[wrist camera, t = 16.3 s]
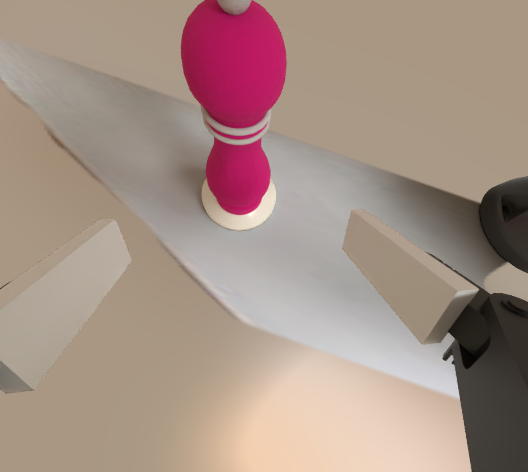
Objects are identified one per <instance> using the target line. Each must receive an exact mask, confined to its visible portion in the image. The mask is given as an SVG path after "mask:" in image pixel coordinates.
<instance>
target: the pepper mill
mask: <svg viewBox="0 0 528 472" xmlns="http://www.w3.org/2000/svg"><path fill="white" fill-rule="evenodd" d="M181 58H182V65H183V71H184V75H185V78H186V81H187V83H188V86H189V89H190V91H191V92H192V94H193V95H194V97H195V98H196V100H198V102H199V103H200V104H201V111H202V114H203V120H204V124H205V126H206V128H207V129H208V131H209V132H210V133H211V134H212V135H213V136H214V145H213V148H212V150H211V152H210V155H209V157H208V160H207V165H206V178H207V184H208V186H209V189H210V190H211V192H212V193H213V195H214V196H215V197H216V199H217V202H218V204H219V205H220V206H221V207H222V209H224V210H225V211H226V212H228V213H231V214H234V215H245V214H249V213H251V212H253V211H254V210H255V209H257V208H258V206H259V205H260V203H261V201H262V197H263V196H264V195H265V193H266V192H267V190H268V187H269V184H270V173H271V171H270V167H269V163H268V160H267V157H266V155H265V153H264V151H263V150H262V148H261V137H262V136H263V135H264V134H265V133H266V131H267V130H268V127H269V124H270V116H271V110H272V106H273V105H274V104H275V103H276V101H277V100H278V98H279V96H280V94H281V91H282V89H283V85H284V82H285V75H286V50H285V46H284V41H283V38H282V35H281V32H280V30H279V28H278V26H277V24H276V22H275V21H274V19H273V18H272V16H271V15H270V14H269V13H268V12H267V11H266V10H265V8H263V7H262V6H261V5H259V4H258V3H256V2H254V1H253V0H205V1H203V2H202V3H200V4H199V5H198V6H197V7H196V8H195V10H194V11H193V12H192V14H191V15H190V16H189V17H188V19H187V22H186V24H185V27H184V29H183V34H182V41H181Z"/></svg>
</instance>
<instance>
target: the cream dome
mask: <svg viewBox="0 0 528 472" xmlns="http://www.w3.org/2000/svg"><path fill="white" fill-rule="evenodd" d="M201 197H202V202H203V206H204V208H205V210H206V212H207V214H208V215H209V217H210V218H211V219H212V220H213V221H214V222H215V223H216V224H218V225H219V226H221V227H223V228H226V229H229V230H233V231H246V230H250V229H253V228H256V227H258V226H259V225H261V224H262V223H264V222H265V221H266V220H267V219H268V218H269V216H270V215H271V213H272V211H273V208H274V205H275V202H276V190H275V186H274V183H273V181H272V180H271V178H270V184H269V187H268V190H267V192H266V193H265V195H264V196H263V197H262V201H261V203H260V205H259V206H258V208H257V209H255V210H254V211H253V212H251V213H249V214H245V215H234V214H231V213H228V212H226V211H225V210H224V209H222V207H221V206H220V205H219V204H218V202H217V199H216V197H215V196H214V195H213V193H212V192H211V190H210V189H209V186H208V184H207V178H206V179H205V181H204V183H203V186H202V192H201Z"/></svg>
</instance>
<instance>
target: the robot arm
mask: <svg viewBox="0 0 528 472" xmlns="http://www.w3.org/2000/svg"><path fill="white" fill-rule="evenodd" d="M480 216H481V222H482V226H483V228H484V231H485V233H486V235H487V237H488V239H489V241H490V242H491V244H492V245H493V247H494V248H495V249H496V250H497V252H498V253H499V254H500V255H501V256H502V257H503V258H504V259H505V260H507V261H508V262H509V263H510V264H512V265H513V266H515V267H516V268H518V269H520V270H522V271H524V272H526V273H528V176H526V177H521V178H516V179H513V180H509V181H507V182H505V183H502V184H500V185H497V186H495V187H493V188H491V189H490V190H489V191H488V192H487V193H486V194H485V195H484V197H483V199H482V202H481V206H480ZM342 249H343V250H344V252H345V253H346V254H347V255H348V256H349V258H350V259H351V260H352V261H353V262H354V264H355V265H356V266H357V267H358V268H359V270H360V271H361V272H362V273H363V274H364V276H365V277H366V278H367V279H368V280H369V282H370V283H371V284H372V285H373V286H374V288H375V289H376V290H377V291H378V292H379V294H380V295H381V296H382V297H383V298H384V300H385V301H386V302H387V303H388V304H389V306H390V307H391V308H392V309H393V310H394V312H395V313H396V314H397V315H398V316H399V318H400V319H401V320H402V321H403V322H404V324H405V325H406V326H407V327H408V328H409V330H410V331H411V332H412V333H413V334H414V336H415V337H416V338H417V339H418V340H419V342H420V343H421V344H422V345H425V344H433V343H441V341H442V340H443V338H444V337H445V336H446V334H447V333H448V332H449V333H450V334H451V335H452V336H453V337H454V338H455V341H454V342H453V343H452V344H451V346H450V347H449V348H448V349H447V351H446V352H445V353H444V355H443V360H445V361H446V360H447V359H448V358H449V357H450V356H451V355H453V358H454V360H453V361H452V364H454V365H455V370H456V376H457V383H458V389H459V395H460V401H461V407H462V414H463V420H464V426H465V432H466V439H467V444H468V451H469V457H470V463H471V469H472V472H528V302H527V301H525V300H522V299H520V298H517V297H514V296H512V295H507V294H503V293H493V294H489V293H488V292H487V291H485V290H484V289H482V288H481V287H479V286H478V285H476V284H475V283H473V282H472V281H470V280H469V279H467V278H466V277H464V276H463V275H461V274H460V273H458V272H457V271H456V270H452V268H451V267H450V266H448V265H447V264H443V262H442V261H441V260H439V259H438V258H436V257H435V256H433V255H432V254H429V253H427V252H425V251H423V250H422V249H420V248H419V247H417V246H416V245H414V244H413V243H412V242H410V241H409V240H407V239H406V238H404V237H403V236H401V235H400V234H398V233H397V232H396V231H394V230H393V229H391V228H390V227H388V226H387V225H385V224H384V223H383V222H381V221H380V220H378V219H377V218H375V217H374V216H372V215H371V214H369V213H368V212H367V211H365V210H352V211H351V215H350V219H349V223H348V227H347V231H346V235H345V239H344V244H343V248H342ZM131 262H132V260H131V257H130V255H129V252H128V250H127V247H126V245H125V242H124V239H123V237H122V234H121V232H120V229H119V227H118V224H117V221H116V219H99V220H98V221H97V222H95V223H94V224H92V225H91V226H90V227H88V228H87V229H85V230H84V231H82V232H81V233H80V234H78V235H77V236H75V237H74V238H72V239H71V240H70V241H68V242H67V243H65V244H64V245H63V246H61V247H60V248H58V249H57V250H55V251H54V252H53V253H51V254H50V255H48V256H47V257H46V258H44V259H43V260H41V261H40V262H38V263H37V264H36V265H34V266H33V267H32V268H30V269H29V270H27V271H26V272H25V273H23V274H21V275H20V276H19V277H17V278H16V279H14V280H13V281H11V282H9V283H7V284H6V285H4V286H3V287H2V288H0V389H1V390H2V391H3V392H5V393H15V392H23V391H32V390H35V388H36V387H37V386H38V384H39V383H40V382H41V380H42V379H43V377H45V375H46V374H47V373H48V371H49V370H50V368H51V367H52V366H53V365H54V363H55V362H56V361H57V359H58V358H59V357H60V355H61V354H62V353H63V351H64V350H65V349H66V347H67V346H68V345H69V344H70V342H71V341H72V340H73V338H74V337H75V336H76V334H77V333H78V331H79V330H80V329H81V328H82V326H83V325H84V324H85V322H86V321H87V320H88V318H89V317H90V316H91V314H92V313H93V312H94V310H95V309H96V307H97V306H98V305H99V304H100V303H101V301H102V300H103V299H104V297H105V296H106V295H107V293H108V292H109V290H110V289H111V288H112V287H113V285H114V284H115V283H116V281H117V280H118V279H119V277H120V276H121V275H122V273H123V272H124V271H125V270H126V268H127V267H128V266H129V264H130V263H131Z"/></svg>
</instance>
